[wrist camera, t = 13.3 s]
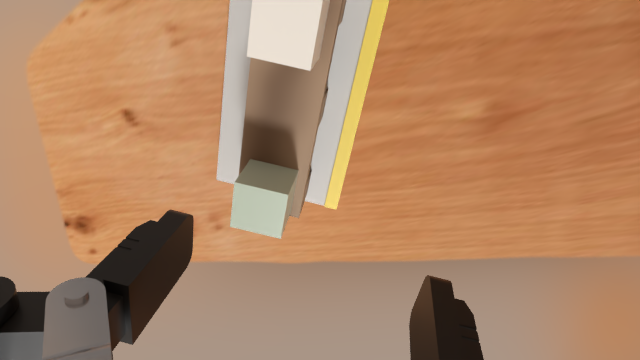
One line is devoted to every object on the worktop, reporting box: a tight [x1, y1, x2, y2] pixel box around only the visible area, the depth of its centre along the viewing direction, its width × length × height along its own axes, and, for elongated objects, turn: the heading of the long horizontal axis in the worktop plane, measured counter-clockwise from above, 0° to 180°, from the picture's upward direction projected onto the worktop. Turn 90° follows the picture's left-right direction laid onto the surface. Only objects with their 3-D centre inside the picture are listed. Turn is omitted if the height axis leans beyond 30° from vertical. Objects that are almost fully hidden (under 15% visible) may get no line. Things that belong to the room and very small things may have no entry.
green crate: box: [230, 159, 299, 239], centre depth 32 cm, size 4×4×4 cm
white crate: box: [247, 0, 330, 71], centre depth 25 cm, size 4×4×4 cm
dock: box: [217, 0, 389, 209], centre depth 35 cm, size 12×20×3 cm, turn 169°
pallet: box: [239, 0, 346, 218], centre depth 32 cm, size 6×18×4 cm, turn 169°
